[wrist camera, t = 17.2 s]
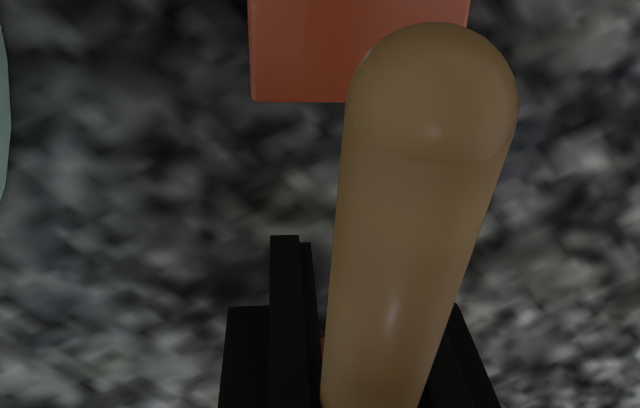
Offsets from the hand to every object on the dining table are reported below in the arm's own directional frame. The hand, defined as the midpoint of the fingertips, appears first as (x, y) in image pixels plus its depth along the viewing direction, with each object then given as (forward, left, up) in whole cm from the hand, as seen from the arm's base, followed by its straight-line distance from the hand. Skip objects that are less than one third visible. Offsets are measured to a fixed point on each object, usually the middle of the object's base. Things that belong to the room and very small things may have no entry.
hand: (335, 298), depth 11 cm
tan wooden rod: (0, 0, +3) cm, 3 cm away
